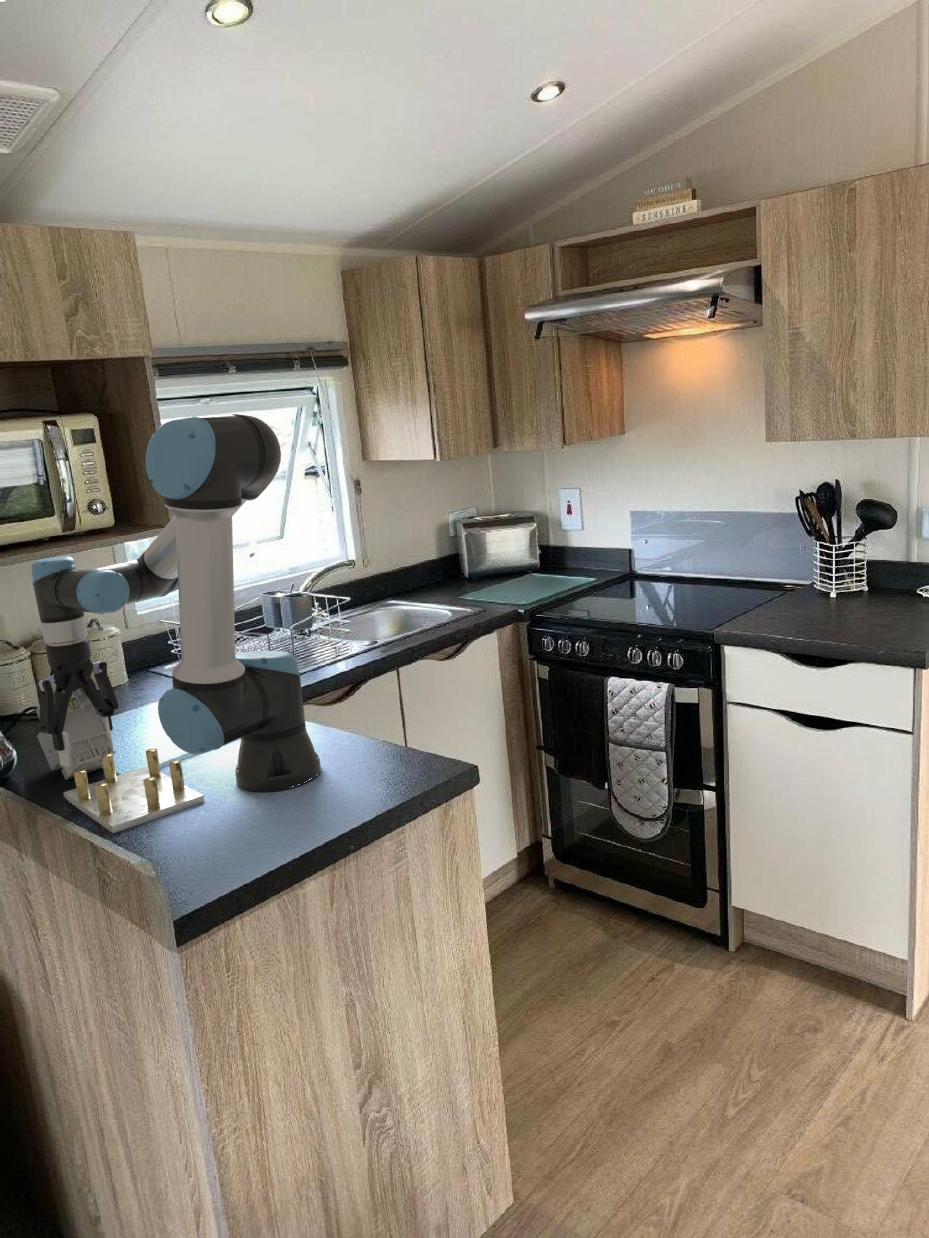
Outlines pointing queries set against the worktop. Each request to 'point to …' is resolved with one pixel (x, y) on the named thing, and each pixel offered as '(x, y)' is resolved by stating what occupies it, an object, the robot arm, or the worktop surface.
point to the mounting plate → (132, 794)
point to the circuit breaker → (79, 737)
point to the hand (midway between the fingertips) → (87, 756)
